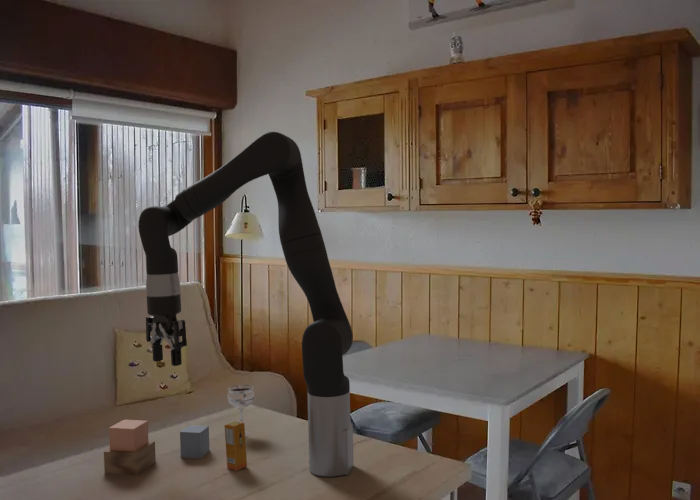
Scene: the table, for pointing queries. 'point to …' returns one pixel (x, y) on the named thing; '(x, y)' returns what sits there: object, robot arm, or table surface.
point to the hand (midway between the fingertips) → (167, 363)
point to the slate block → (194, 441)
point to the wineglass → (241, 399)
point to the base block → (129, 460)
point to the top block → (128, 435)
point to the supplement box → (235, 445)
